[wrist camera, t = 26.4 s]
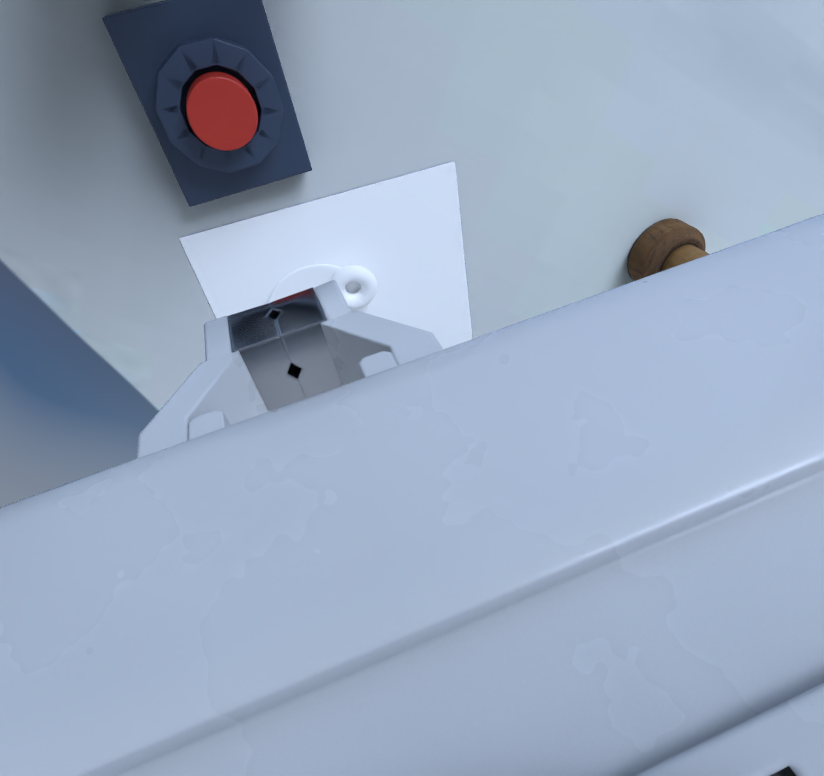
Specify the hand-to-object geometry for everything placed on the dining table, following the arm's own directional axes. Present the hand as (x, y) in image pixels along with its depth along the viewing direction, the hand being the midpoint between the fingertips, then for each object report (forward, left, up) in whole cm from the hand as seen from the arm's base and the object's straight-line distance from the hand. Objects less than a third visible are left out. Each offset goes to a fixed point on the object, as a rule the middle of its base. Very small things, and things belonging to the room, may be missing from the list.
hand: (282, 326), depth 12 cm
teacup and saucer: (+17, +4, -27) cm, 33 cm away
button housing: (0, 0, -27) cm, 27 cm away
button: (0, 0, -24) cm, 24 cm away
